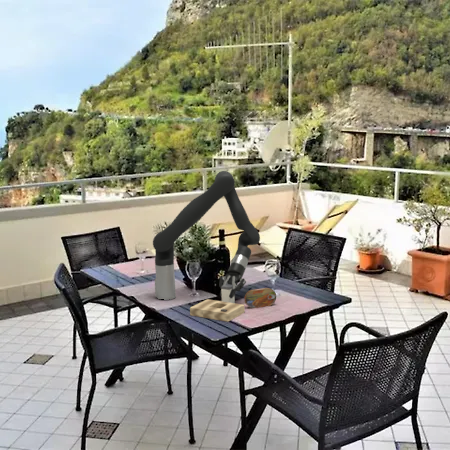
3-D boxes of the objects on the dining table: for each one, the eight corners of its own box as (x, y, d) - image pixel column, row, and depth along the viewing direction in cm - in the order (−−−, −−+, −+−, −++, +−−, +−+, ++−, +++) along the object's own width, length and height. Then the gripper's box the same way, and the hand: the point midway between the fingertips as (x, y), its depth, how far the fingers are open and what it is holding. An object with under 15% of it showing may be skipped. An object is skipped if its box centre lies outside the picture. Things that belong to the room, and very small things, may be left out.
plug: (221, 304, 264) (221, 286, 263) (226, 302, 268) (226, 284, 267) (229, 306, 262) (229, 287, 261) (234, 303, 266) (234, 285, 264)
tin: (246, 309, 257) (245, 291, 255) (243, 307, 260) (243, 289, 258) (276, 305, 261) (276, 287, 259) (274, 303, 264) (273, 286, 262)
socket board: (190, 315, 251) (189, 306, 251) (207, 306, 263) (207, 298, 262) (228, 321, 241) (227, 312, 240) (244, 312, 252) (244, 303, 252)
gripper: (222, 260, 272) (209, 291, 264) (248, 263, 264) (235, 294, 256) (228, 268, 277) (216, 299, 269) (254, 271, 270) (242, 302, 262)
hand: (225, 296), depth 263 cm, fingers closed on plug, 4 cm apart
